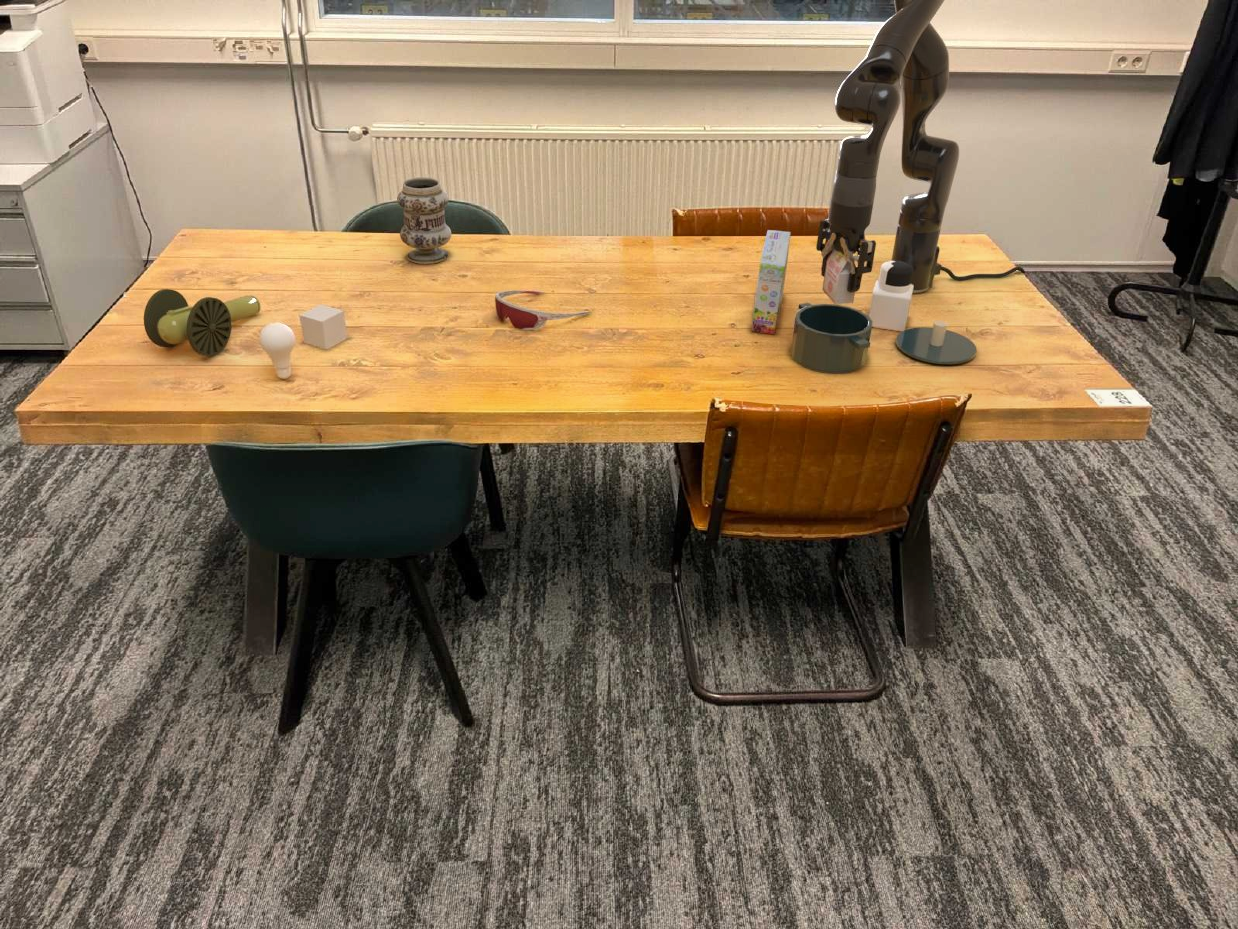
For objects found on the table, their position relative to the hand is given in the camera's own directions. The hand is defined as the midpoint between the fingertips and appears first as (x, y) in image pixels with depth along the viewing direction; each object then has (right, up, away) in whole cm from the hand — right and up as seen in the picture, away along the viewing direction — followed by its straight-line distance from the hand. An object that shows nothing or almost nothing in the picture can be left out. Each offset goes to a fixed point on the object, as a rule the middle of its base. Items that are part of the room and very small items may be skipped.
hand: (839, 283), depth 179 cm
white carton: (0, -2, +2) cm, 3 cm away
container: (+15, -4, +22) cm, 27 cm away
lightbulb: (-104, -18, -3) cm, 106 cm away
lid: (+22, -11, +11) cm, 27 cm away
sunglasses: (-59, -3, +22) cm, 64 cm away
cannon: (-123, -9, +11) cm, 124 cm away
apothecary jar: (-88, +16, +49) cm, 102 cm away
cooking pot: (0, -13, +8) cm, 15 cm away
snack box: (-10, -2, +25) cm, 27 cm away
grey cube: (-100, -10, +11) cm, 101 cm away
